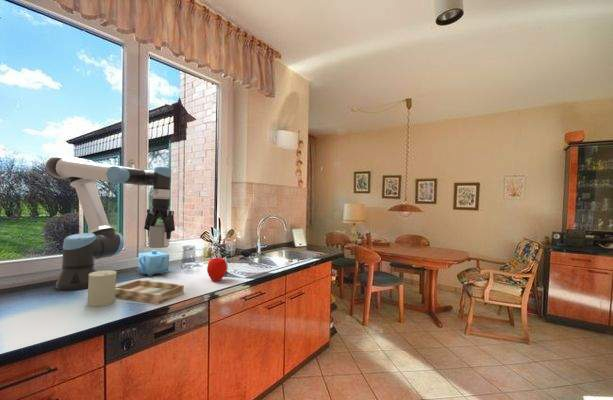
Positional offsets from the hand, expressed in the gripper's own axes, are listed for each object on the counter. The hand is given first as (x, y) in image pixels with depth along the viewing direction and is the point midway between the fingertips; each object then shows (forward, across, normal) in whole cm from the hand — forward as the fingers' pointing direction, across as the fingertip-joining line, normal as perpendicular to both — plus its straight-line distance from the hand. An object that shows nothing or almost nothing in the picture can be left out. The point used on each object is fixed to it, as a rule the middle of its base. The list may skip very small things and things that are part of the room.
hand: (158, 244), depth 140 cm
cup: (+1, 0, 0) cm, 1 cm away
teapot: (+19, -13, +14) cm, 27 cm away
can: (+19, -1, -28) cm, 34 cm away
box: (+19, +8, -14) cm, 25 cm away
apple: (+19, +22, +17) cm, 34 cm away
